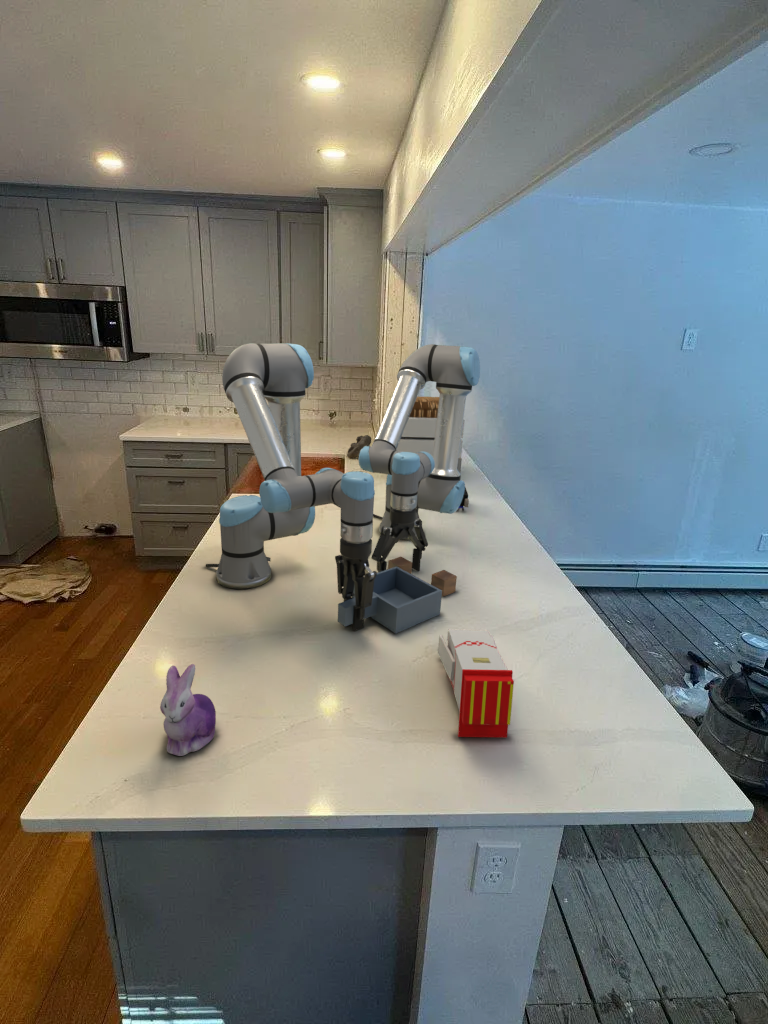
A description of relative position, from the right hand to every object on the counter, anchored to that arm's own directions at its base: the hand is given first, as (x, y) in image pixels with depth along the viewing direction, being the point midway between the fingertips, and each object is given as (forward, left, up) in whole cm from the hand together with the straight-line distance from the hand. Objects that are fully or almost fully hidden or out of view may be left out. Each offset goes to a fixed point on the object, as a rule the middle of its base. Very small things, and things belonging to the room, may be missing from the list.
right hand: (399, 575), depth 168 cm
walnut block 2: (+14, +4, -1) cm, 15 cm away
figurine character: (-33, +62, -1) cm, 71 cm away
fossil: (-122, +81, -1) cm, 147 cm away
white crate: (-78, +84, -1) cm, 114 cm away
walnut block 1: (0, 0, -1) cm, 1 cm away
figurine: (+27, -75, -1) cm, 79 cm away
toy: (+49, -24, -1) cm, 54 cm away
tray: (+14, -19, -1) cm, 23 cm away
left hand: (+14, -28, 0) cm, 31 cm away
